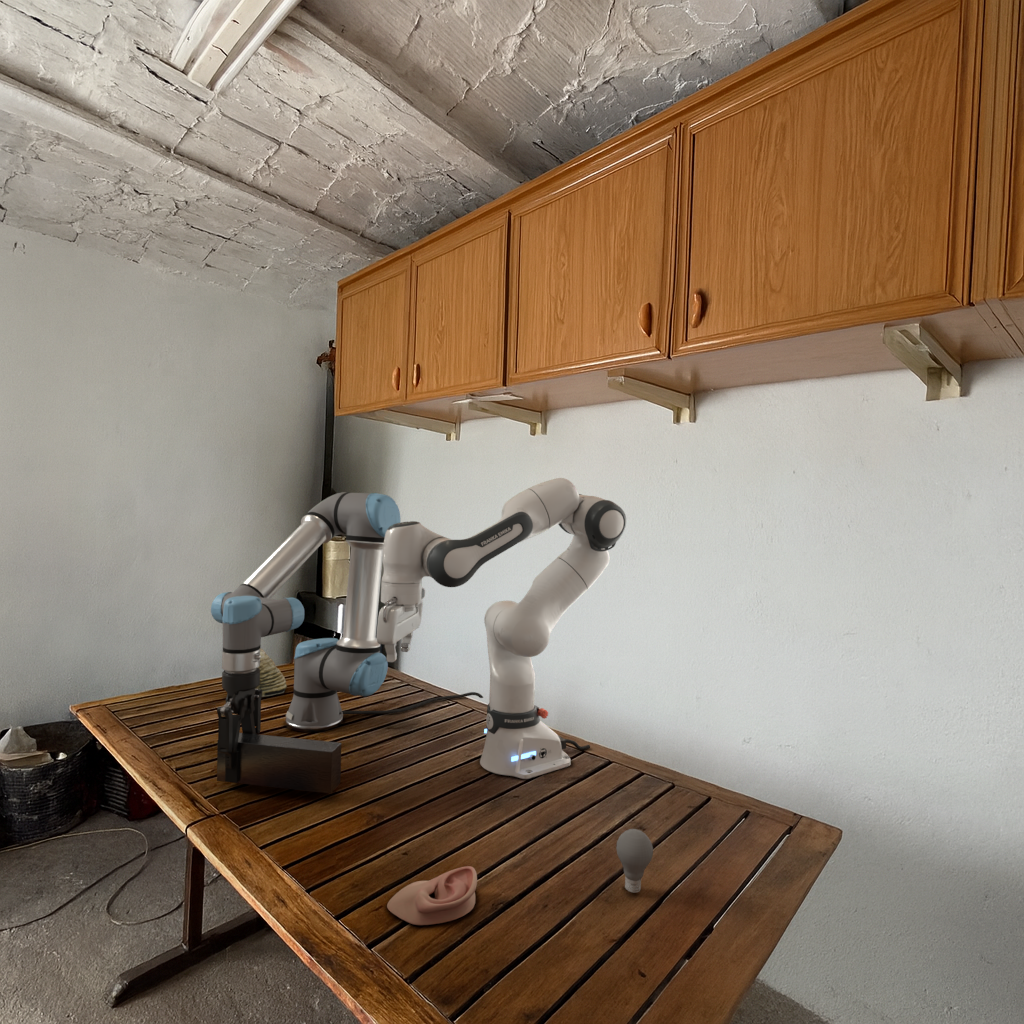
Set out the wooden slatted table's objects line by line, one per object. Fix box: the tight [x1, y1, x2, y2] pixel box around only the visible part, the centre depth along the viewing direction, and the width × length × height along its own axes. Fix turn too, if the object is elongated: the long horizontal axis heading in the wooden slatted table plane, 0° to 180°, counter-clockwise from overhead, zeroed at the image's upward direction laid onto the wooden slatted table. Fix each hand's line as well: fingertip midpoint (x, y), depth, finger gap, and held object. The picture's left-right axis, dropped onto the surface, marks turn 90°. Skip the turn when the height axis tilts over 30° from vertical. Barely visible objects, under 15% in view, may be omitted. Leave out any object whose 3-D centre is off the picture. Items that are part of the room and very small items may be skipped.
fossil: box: [255, 647, 288, 698], centre depth 198 cm, size 9×18×15 cm, turn 132°
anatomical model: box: [386, 865, 478, 926], centre depth 100 cm, size 13×4×12 cm
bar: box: [216, 732, 342, 794], centre depth 135 cm, size 26×5×9 cm, turn 81°
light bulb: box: [615, 828, 654, 894], centre depth 106 cm, size 6×6×10 cm
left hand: (239, 775), depth 137 cm, fingers closed on bar, 5 cm apart
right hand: (398, 656), depth 141 cm, fingers open, 8 cm apart
